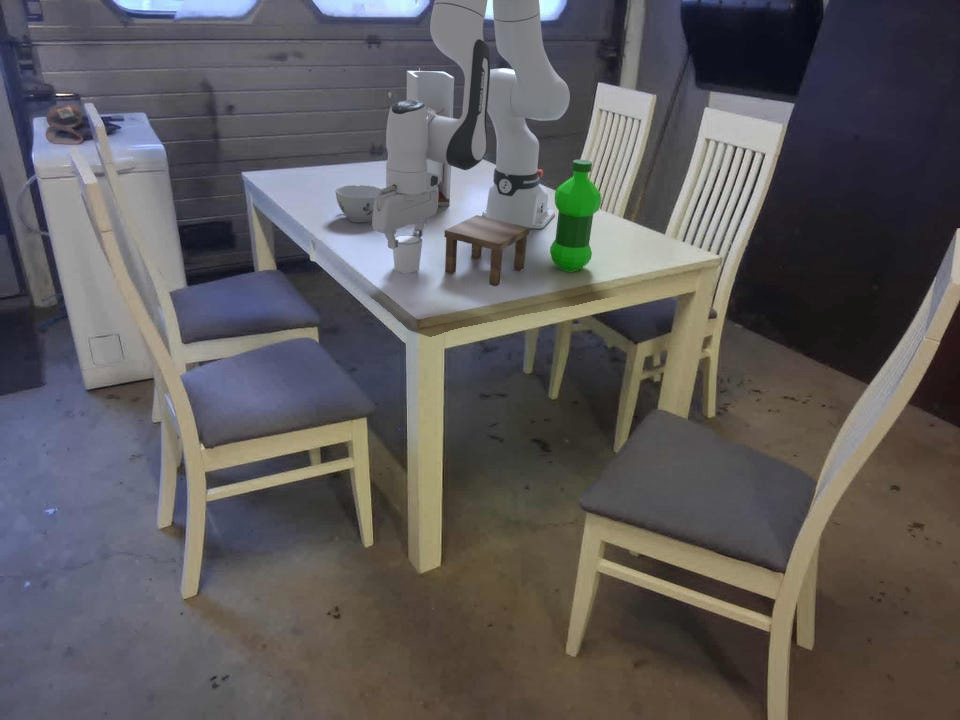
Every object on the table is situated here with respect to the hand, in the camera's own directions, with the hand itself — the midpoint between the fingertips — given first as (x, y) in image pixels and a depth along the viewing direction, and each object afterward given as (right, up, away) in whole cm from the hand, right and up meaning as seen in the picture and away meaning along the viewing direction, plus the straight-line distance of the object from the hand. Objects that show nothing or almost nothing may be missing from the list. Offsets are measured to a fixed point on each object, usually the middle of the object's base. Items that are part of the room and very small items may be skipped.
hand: (405, 242), depth 159 cm
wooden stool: (+18, -6, +5) cm, 19 cm away
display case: (+1, +21, +50) cm, 54 cm away
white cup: (0, -6, +3) cm, 7 cm away
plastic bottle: (+38, -5, +9) cm, 39 cm away
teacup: (-16, +12, +33) cm, 38 cm away
